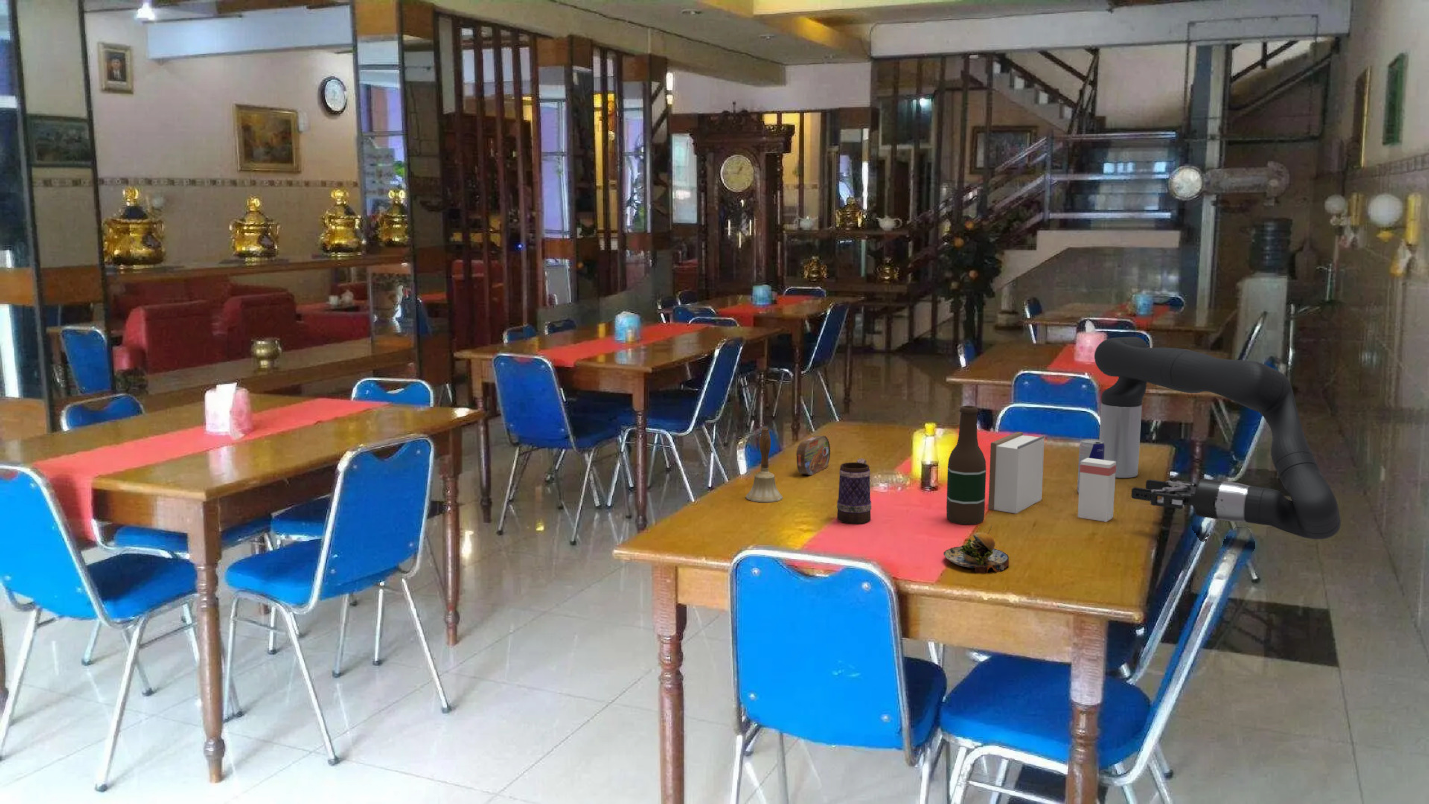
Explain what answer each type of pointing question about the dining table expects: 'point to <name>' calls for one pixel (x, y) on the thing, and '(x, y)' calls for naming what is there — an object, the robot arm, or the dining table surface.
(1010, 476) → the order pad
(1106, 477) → the white juice carton
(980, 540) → the burger
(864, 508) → the mug
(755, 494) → the hand bell
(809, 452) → the tin
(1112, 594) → the dining table surface
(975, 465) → the beer bottle
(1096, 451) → the energy drink
